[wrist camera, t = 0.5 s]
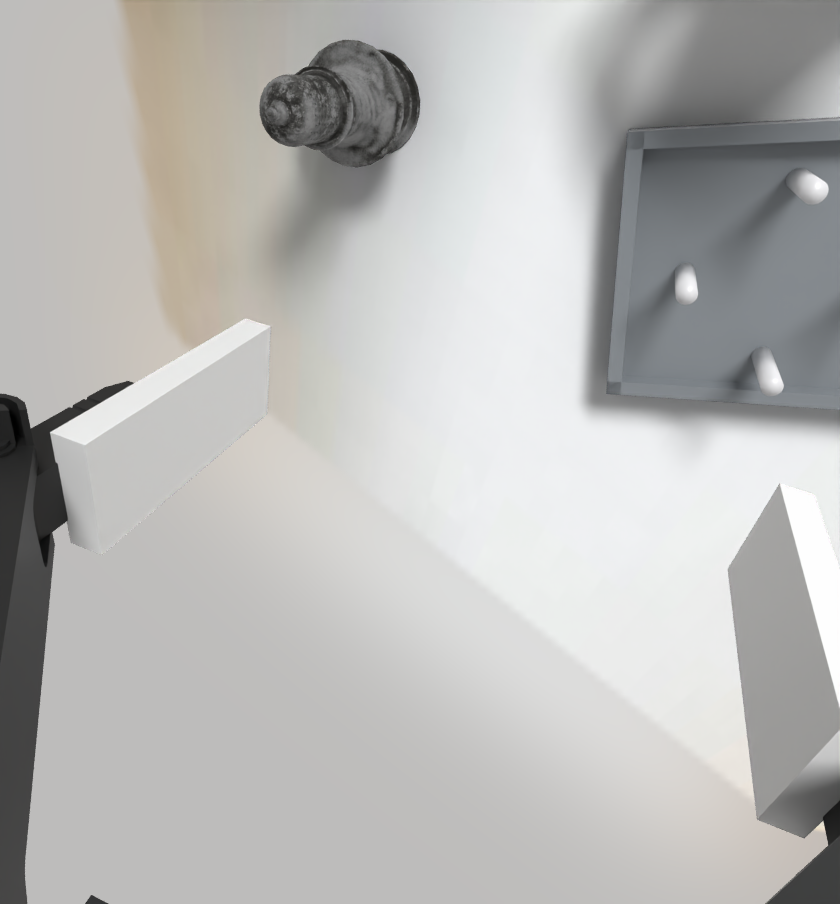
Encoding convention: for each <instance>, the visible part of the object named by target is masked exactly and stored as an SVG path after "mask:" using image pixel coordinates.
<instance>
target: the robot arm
mask: <svg viewBox="0 0 840 904" xmlns="http://www.w3.org/2000/svg"><path fill="white" fill-rule="evenodd" d="M270 334H271V326H268V325H265V324H262V323H258V322H255V321H252V320H249V319H244V320H242V321H240V322H239V323H237V324H235V325H233V326H232V327H230V328H228V329H227V330H225V331H223V332H221V333H220V334H218V335H216V336H215V337H213V338H211V339H209V340H208V341H206V342H204V343H203V344H201V345H199V346H197V347H196V348H194V349H192V350H191V351H189V352H187V353H185V354H184V355H182V356H180V357H179V358H177V359H175V360H173V361H172V362H170V363H168V364H167V365H165V366H163V367H161V368H160V369H158V370H156V371H155V372H153V373H151V374H149V375H148V376H146V377H144V378H143V379H141V380H139V381H137V382H136V383H133V382H129V381H126V382H123V383H119V384H115V385H112V386H108V387H105V388H103V389H101V390H99V391H97V392H96V393H94V394H92V395H90V396H89V397H87V400H85V399H83V400H81V401H80V402H78V403H76V404H74V405H73V408H67V409H65V410H64V411H62V412H60V413H58V414H57V415H55V416H53V417H51V418H49V419H48V420H46V421H44V422H42V423H40V424H39V425H37V426H35V427H33V428H30V423H29V419H28V414H27V409H26V405H25V402H23V401H22V400H20V399H19V398H18V397H14V396H10V395H7V394H0V904H27V895H26V886H25V855H26V845H27V834H28V823H29V813H30V802H31V791H32V781H33V770H34V758H35V749H36V738H37V728H38V717H39V706H40V695H41V685H42V674H43V664H44V653H45V652H44V651H45V642H46V632H47V621H48V610H49V599H50V589H51V578H52V568H53V556H54V546H55V543H54V539H53V534H52V532H53V531H54V530H56V529H57V528H58V527H60V526H61V525H62V524H63V523H65V522H66V521H67V524H68V530H69V535H70V540H71V543H73V544H76V545H78V546H80V547H83V548H85V549H88V550H90V551H93V552H95V553H98V554H100V555H103V554H104V553H105V552H106V551H107V550H109V549H110V548H111V547H112V546H113V545H114V544H116V543H117V542H118V541H119V540H120V539H121V538H123V537H124V536H125V535H126V534H127V533H129V532H130V531H131V530H132V529H133V528H134V527H135V526H137V525H138V524H139V523H140V522H141V521H143V520H144V519H145V518H146V517H147V516H148V515H150V514H151V513H152V512H153V511H154V510H155V509H157V508H158V507H159V506H160V505H161V504H163V503H164V502H165V501H166V500H167V499H168V498H169V497H171V496H172V495H173V494H174V493H175V492H176V491H178V490H179V489H180V488H181V487H182V486H183V485H185V484H186V483H187V482H188V481H190V479H192V478H193V477H194V476H195V475H197V474H198V473H199V472H200V471H201V470H202V469H203V468H205V467H206V466H207V465H208V464H209V463H211V462H212V461H213V460H214V459H215V458H216V457H218V456H219V455H220V454H221V453H222V452H224V450H226V449H227V448H228V447H229V446H231V445H232V444H233V443H234V442H235V441H236V440H238V439H239V438H240V437H241V436H242V435H243V434H245V433H246V432H247V431H248V430H249V429H251V428H252V427H253V426H254V425H255V424H256V423H257V422H259V421H260V420H261V419H262V418H263V417H265V416H266V415H267V413H268V387H269V360H270ZM728 576H729V584H730V593H731V601H732V610H733V619H734V627H735V636H736V644H737V653H738V661H739V670H740V678H741V687H742V695H743V704H744V712H745V721H746V729H747V738H748V747H749V755H750V764H751V772H752V781H753V789H754V798H755V806H756V815H757V819H758V820H760V821H762V822H765V823H767V824H770V825H772V826H775V827H777V828H780V829H782V830H785V831H787V832H790V833H792V834H794V835H797V836H799V837H802V838H805V837H806V836H807V835H808V834H809V833H811V832H812V831H813V830H814V829H815V828H816V827H817V826H818V825H819V824H820V823H821V822H822V821H824V826H825V831H826V835H827V840H828V846H827V847H826V848H825V849H824V850H823V851H822V852H821V853H820V854H819V855H817V856H816V857H815V858H814V859H813V860H812V861H811V862H810V863H809V864H808V865H806V866H805V867H804V868H803V869H802V870H801V871H800V872H799V873H798V874H797V875H796V876H795V877H794V878H793V879H792V880H790V882H788V883H787V884H786V885H785V886H784V887H783V888H782V889H781V890H780V891H778V893H776V894H775V895H774V896H773V897H772V898H771V899H770V900H769V901H768V902H767V903H765V904H840V567H839V564H838V561H837V558H836V555H835V553H834V550H833V547H832V544H831V541H830V538H829V535H828V532H827V529H826V526H825V523H824V520H823V518H822V515H821V512H820V509H819V506H818V503H817V500H816V497H815V494H812V493H809V492H806V491H802V490H799V489H796V488H793V487H790V486H786V485H783V484H779V485H778V487H777V489H776V490H775V492H774V494H773V495H772V497H771V499H770V500H769V502H768V504H767V505H766V507H765V508H764V510H763V512H762V513H761V515H760V517H759V518H758V520H757V522H756V523H755V525H754V527H753V528H752V530H751V532H750V533H749V535H748V537H747V538H746V540H745V541H744V543H743V545H742V546H741V548H740V550H739V551H738V553H737V555H736V556H735V558H734V560H733V561H732V563H731V565H730V566H729V568H728ZM85 904H108V903H106V902H104V901H102V900H100V899H98V898H96V897H94V896H93V895H91V896H90V898H89V899H88V901H87V902H86V903H85Z"/></svg>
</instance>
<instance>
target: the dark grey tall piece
mask: <svg viewBox="0 0 840 904" xmlns="http://www.w3.org/2000/svg"><path fill="white" fill-rule="evenodd" d="M419 112H420V97H419V92H418V86H417V84H416V81H415V79H414V77H413V74H412V73H411V71H410V70H409V68H408V67H407V66H406V64H405V63H404V62H403V61H402V60H400V59H399V58H398V57H397V56H395V55H394V54H391V53H389V52H386V51H384V50H376V49H375V48H374V47H373V46H370V45H368V44H366V43H363V42H361V41H355V40H342V41H338V42H335V43H331V44H329V45H328V46H327V47H325V48H324V49H322V50H321V51H319V52H318V54H317V55H316V56H315V58H314V59H313V60H312V61H311V63H310V64H309V66H308V67H305V68H303V69H302V70H300V71H299V72H297V73H296V74H295V75H282V76H279V77H277V78H275V79H273V80H272V81H271V82H269V83H268V85H267V86H266V87H265V88H264V90H263V93H262V95H261V99H260V116H261V120H262V124H263V126H264V128H265V130H266V131H267V133H268V134H269V135H270V136H271V138H273V139H274V140H275V141H277V142H278V143H280V144H283V145H285V146H291V147H297V146H302V145H305V146H307V147H309V148H311V149H314V150H320V151H321V152H322V153H324V154H325V155H326V156H327V157H329V158H330V159H331V160H332V161H335V162H337V163H339V164H342V165H344V166H351V167H361V166H366V165H370V164H372V163H374V162H376V161H378V160H380V159H381V158H383V157H384V156H385V155H386V154H387V153H392V152H393V151H395V150H397V149H399V148H401V147H402V146H403V145H404V144H405V143H406V142H407V141H408V140H409V139H410V137H411V135H412V133H413V132H414V130H415V128H416V125H417V121H418V118H419Z"/></svg>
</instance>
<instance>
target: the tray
mask: <svg viewBox="0 0 840 904" xmlns="http://www.w3.org/2000/svg"><path fill="white" fill-rule="evenodd" d="M606 394H616V395H631V396H645V397H660V398H674V399H689V400H703V401H718V402H732V403H747V404H761V405H776V406H791V407H805V408H820V409H834V410H840V117H837V118H819V119H801V120H783V121H764V122H746V123H728V124H710V125H692V126H674V127H656V128H638V129H629V131H628V133H627V146H626V158H625V170H624V182H623V195H622V207H621V219H620V231H619V244H618V256H617V268H616V280H615V293H614V305H613V317H612V329H611V342H610V354H609V366H608V378H607V391H606Z"/></svg>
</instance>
